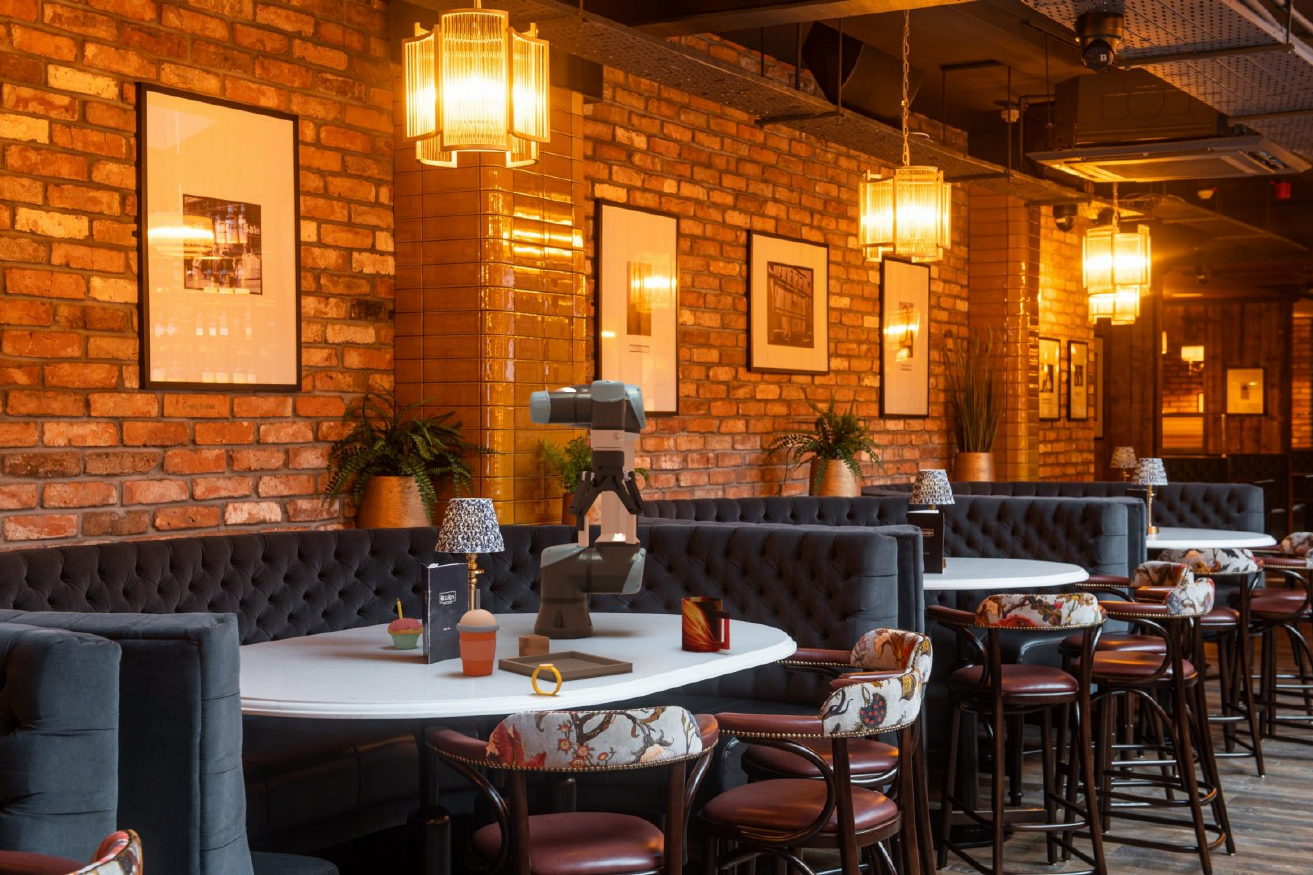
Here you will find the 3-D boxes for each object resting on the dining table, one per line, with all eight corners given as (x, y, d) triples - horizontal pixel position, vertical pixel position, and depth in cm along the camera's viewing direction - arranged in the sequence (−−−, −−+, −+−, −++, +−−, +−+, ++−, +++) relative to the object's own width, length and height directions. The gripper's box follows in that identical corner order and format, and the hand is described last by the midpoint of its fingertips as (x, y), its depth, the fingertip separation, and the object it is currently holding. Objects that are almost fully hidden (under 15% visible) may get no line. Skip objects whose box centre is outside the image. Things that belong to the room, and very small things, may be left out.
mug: (728, 655, 320) (728, 603, 320) (674, 651, 326) (674, 600, 326) (744, 649, 328) (744, 599, 328) (692, 645, 334) (692, 596, 334)
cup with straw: (459, 678, 287) (459, 592, 287) (453, 671, 296) (453, 587, 296) (502, 676, 290) (502, 591, 290) (495, 669, 298) (495, 586, 299)
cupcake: (398, 651, 324) (398, 600, 324) (380, 647, 331) (381, 597, 331) (430, 648, 330) (430, 597, 330) (412, 644, 336) (412, 594, 336)
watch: (530, 696, 269) (528, 665, 269) (537, 694, 271) (535, 663, 272) (557, 696, 266) (555, 665, 267) (564, 694, 269) (562, 663, 269)
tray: (498, 668, 300) (498, 659, 300) (573, 659, 312) (573, 650, 312) (555, 682, 282) (555, 672, 282) (632, 672, 295) (632, 663, 295)
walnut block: (518, 658, 314) (518, 636, 314) (537, 656, 317) (537, 634, 317) (530, 661, 310) (530, 639, 310) (549, 659, 313) (549, 637, 313)
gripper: (573, 449, 296) (573, 548, 296) (660, 449, 312) (660, 543, 312) (552, 449, 302) (552, 546, 301) (639, 449, 318) (639, 541, 318)
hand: (607, 544), depth 307 cm, fingers open, 13 cm apart
